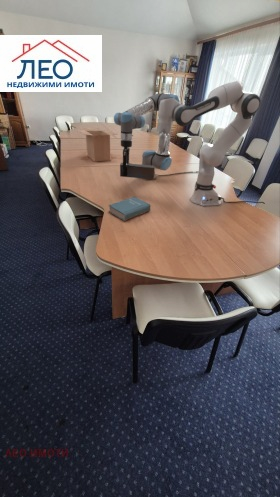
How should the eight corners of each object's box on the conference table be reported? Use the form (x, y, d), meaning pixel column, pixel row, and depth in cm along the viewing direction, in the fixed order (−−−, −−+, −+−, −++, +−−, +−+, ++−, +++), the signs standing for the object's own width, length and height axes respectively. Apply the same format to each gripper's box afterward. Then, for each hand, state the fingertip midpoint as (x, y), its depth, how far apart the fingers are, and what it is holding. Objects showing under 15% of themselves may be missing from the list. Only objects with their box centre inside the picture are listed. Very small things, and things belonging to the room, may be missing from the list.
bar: (120, 176, 159) (120, 164, 154) (121, 174, 163) (121, 162, 158) (153, 179, 157) (154, 167, 152) (153, 177, 161) (154, 165, 156)
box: (120, 162, 240) (121, 134, 224) (89, 164, 226) (86, 135, 210) (106, 152, 270) (105, 127, 254) (77, 154, 256) (74, 127, 240)
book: (133, 203, 159) (134, 196, 156) (150, 211, 150) (150, 204, 147) (108, 212, 145) (108, 205, 142) (125, 221, 137) (125, 214, 134)
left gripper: (129, 143, 139) (128, 179, 153) (133, 137, 153) (132, 171, 167) (118, 142, 139) (118, 178, 153) (123, 136, 154) (123, 170, 168)
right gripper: (168, 131, 127) (165, 156, 135) (170, 126, 143) (167, 149, 152) (157, 130, 128) (155, 155, 136) (160, 125, 144) (158, 148, 152)
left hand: (125, 174), depth 160 cm, fingers closed on bar, 5 cm apart
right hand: (161, 152), depth 144 cm, fingers open, 8 cm apart
